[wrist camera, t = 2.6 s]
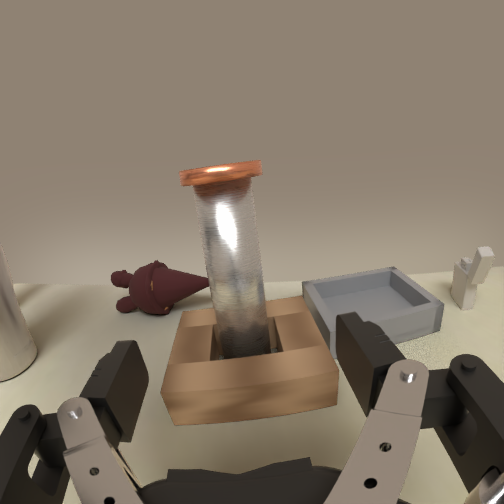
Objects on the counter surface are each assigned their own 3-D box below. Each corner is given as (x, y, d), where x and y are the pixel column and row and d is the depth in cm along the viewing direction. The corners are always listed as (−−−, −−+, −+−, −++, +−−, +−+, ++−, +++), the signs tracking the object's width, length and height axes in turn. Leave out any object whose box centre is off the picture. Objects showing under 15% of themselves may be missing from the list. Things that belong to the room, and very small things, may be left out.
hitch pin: (217, 394, 22) (171, 172, 17) (219, 355, 28) (185, 170, 23) (286, 385, 22) (265, 159, 17) (277, 347, 28) (257, 160, 23)
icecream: (218, 249, 39) (124, 265, 42) (196, 254, 32) (92, 271, 35) (227, 302, 39) (133, 311, 42) (208, 317, 32) (103, 324, 35)
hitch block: (174, 424, 19) (160, 392, 18) (189, 340, 31) (182, 311, 29) (336, 404, 19) (338, 370, 18) (303, 325, 31) (301, 295, 30)
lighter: (450, 294, 31) (456, 231, 29) (461, 293, 31) (468, 231, 28) (470, 323, 25) (482, 250, 22) (483, 322, 24) (496, 250, 22)
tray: (329, 359, 25) (330, 331, 24) (303, 304, 35) (302, 281, 34) (439, 330, 25) (444, 304, 24) (392, 288, 36) (393, 266, 35)
